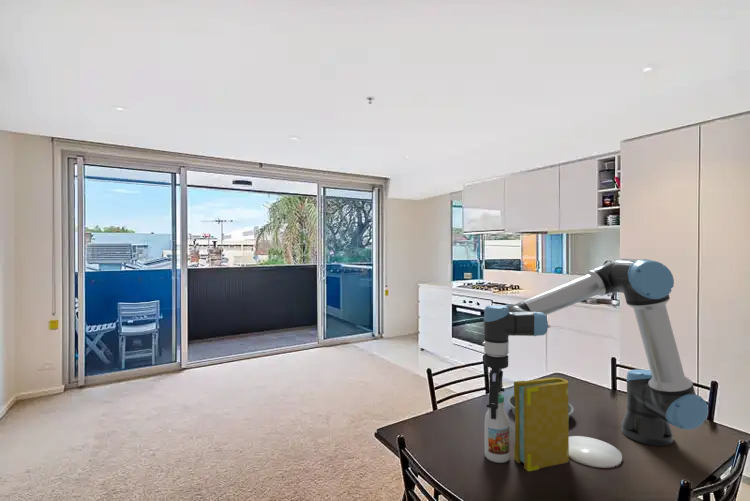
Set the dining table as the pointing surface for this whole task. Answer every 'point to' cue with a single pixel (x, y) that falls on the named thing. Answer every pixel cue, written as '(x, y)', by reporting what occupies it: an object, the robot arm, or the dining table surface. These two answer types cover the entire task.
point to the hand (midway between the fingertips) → (495, 419)
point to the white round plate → (593, 452)
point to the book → (541, 422)
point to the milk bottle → (497, 436)
